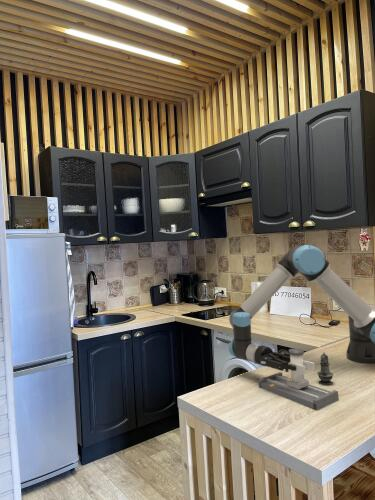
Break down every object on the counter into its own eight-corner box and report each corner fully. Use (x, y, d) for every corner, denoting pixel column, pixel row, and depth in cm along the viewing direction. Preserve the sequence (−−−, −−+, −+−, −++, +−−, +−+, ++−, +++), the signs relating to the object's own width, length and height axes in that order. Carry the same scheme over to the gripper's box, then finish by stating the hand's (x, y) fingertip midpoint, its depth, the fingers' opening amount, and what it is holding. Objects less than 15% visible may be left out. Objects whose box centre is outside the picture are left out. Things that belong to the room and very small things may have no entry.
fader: (297, 381, 135) (295, 347, 135) (309, 385, 130) (307, 350, 130) (286, 385, 131) (285, 350, 131) (298, 389, 127) (296, 353, 127)
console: (280, 379, 146) (279, 372, 146) (338, 399, 124) (338, 391, 124) (258, 387, 139) (258, 379, 139) (316, 410, 118) (316, 401, 118)
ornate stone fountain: (329, 379, 143) (328, 349, 143) (336, 385, 137) (334, 353, 137) (315, 380, 143) (313, 350, 143) (321, 386, 137) (319, 354, 137)
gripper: (275, 359, 151) (324, 373, 132) (244, 369, 141) (293, 385, 122) (274, 341, 151) (323, 352, 132) (243, 349, 141) (292, 363, 121)
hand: (309, 368), depth 127 cm, fingers closed on fader, 4 cm apart
